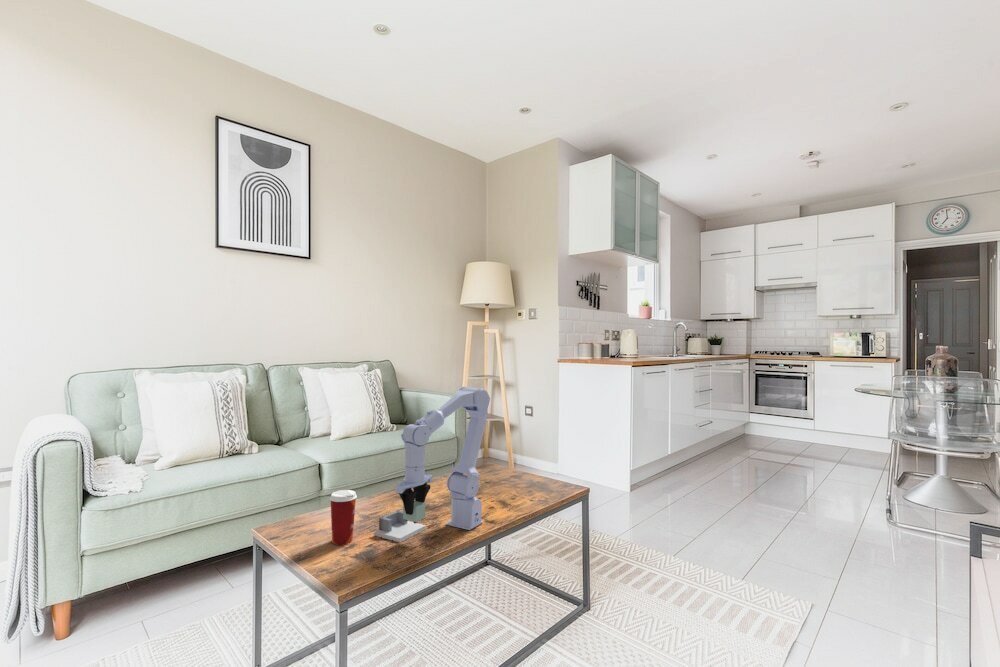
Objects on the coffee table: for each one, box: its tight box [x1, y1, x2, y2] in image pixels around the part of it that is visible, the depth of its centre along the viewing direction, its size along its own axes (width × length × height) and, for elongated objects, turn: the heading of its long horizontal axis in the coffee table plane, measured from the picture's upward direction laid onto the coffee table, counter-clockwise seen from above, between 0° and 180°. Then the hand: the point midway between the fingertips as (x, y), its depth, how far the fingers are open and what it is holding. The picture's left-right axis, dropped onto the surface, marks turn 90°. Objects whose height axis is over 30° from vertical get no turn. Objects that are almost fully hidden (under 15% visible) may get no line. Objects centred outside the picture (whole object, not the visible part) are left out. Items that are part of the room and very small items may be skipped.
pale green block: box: [402, 500, 426, 523], centre depth 141 cm, size 5×4×5 cm
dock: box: [374, 509, 427, 543], centre depth 147 cm, size 10×12×5 cm
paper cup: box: [329, 489, 358, 546], centre depth 140 cm, size 8×8×14 cm
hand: (414, 511), depth 141 cm, fingers closed on pale green block, 4 cm apart
